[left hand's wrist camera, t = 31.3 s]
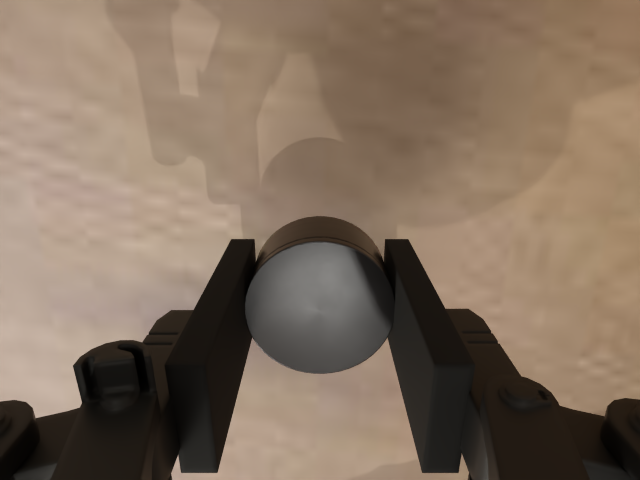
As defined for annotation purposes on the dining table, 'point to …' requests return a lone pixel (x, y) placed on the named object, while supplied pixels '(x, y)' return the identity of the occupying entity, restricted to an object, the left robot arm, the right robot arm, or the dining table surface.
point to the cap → (319, 296)
